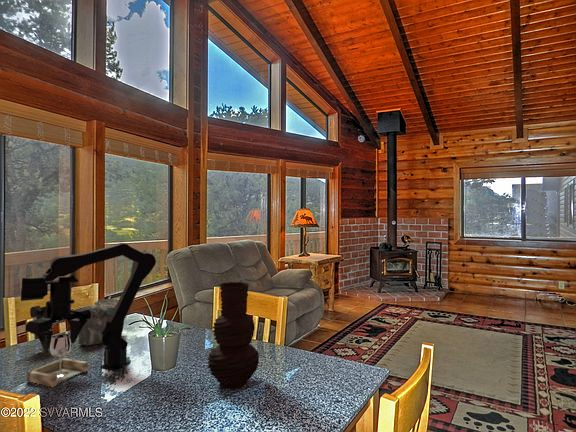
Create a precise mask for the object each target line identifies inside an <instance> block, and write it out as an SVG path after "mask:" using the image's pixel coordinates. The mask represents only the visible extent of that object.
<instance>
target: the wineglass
mask: <svg viewBox="0 0 576 432" xmlns="http://www.w3.org/2000/svg"><path fill="white" fill-rule="evenodd" d="M71 349H72V343H71V338H70V334H69V333H58V334H54V335H52V338H51V344H50V351H49V353H50V354H51V356H53V357H57V358H58V359H57V360H58V361H59V372H57V373H54V374H53V375H57V378H58V377H63V376H66V375H68V372H65V371H63V372H62V371H61V363H62V357H64V356H66V355H68V354H70V352H71Z"/></svg>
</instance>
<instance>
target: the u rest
mask: <svg viewBox="0 0 576 432" xmlns="http://www.w3.org/2000/svg"><path fill="white" fill-rule="evenodd" d="M58 360H59V359H57V360H55V361H52V362H49V363H47V364H44V365H41V366H39V367H36V368H34V369H32V370H30V371H27V372H26V373H27V374H26V382H27V381H28V382H27V383H29V382H33V383H32V384H34V383H37V384H36V385H39V384H42V385H41V386H44V385H47V386H46V387H49V386H51V387H50V388H55V387H57V386H58V385H59V384H58V383H60V382H62V381H64V382H66V381H67V380H66V379H69V378H71V377H73V376H75V375H77V376H79V375H81V374H80V373H82V372H85V373H87V372H88V368H89V366H88V364H89V363H88V361H83V360H78V359H71V358H68V357H67V358H66V357H63V358H62V363H61V371H62V372H63V371H65V372H68V375H66V376H63V377H58V378H57V375H53V374H54V373H57V372H59V361H58ZM86 371H87V372H86ZM78 374H79V375H78ZM82 374H83V373H82ZM75 377H76V376H75ZM73 378H74V377H73ZM71 379H72V378H71ZM65 380H66V381H65ZM69 380H70V379H69ZM62 383H63V382H62ZM57 384H58V385H57ZM60 384H61V383H60ZM56 385H57V386H56ZM54 386H55V387H54Z"/></svg>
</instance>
